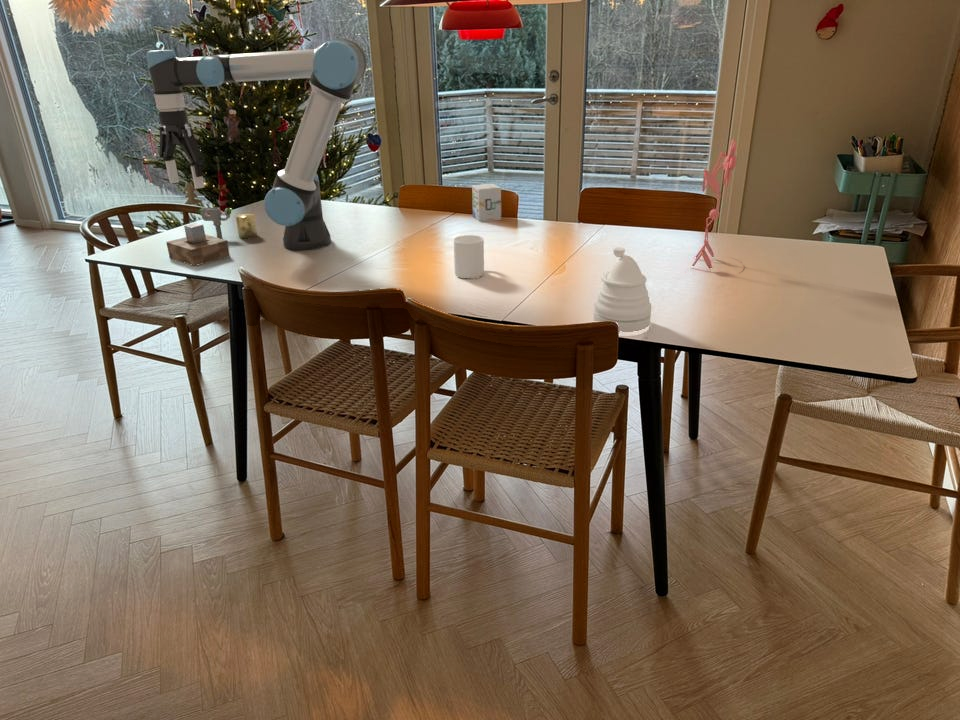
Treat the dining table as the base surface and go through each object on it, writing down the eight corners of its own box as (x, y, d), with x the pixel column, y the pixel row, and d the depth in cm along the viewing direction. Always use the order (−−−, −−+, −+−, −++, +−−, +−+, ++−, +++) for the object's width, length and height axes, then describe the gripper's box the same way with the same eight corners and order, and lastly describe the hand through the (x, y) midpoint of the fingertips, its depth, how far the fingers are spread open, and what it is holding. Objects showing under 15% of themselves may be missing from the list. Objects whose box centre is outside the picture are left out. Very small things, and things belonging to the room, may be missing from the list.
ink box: (472, 216, 256) (471, 184, 250) (494, 214, 258) (494, 182, 253) (479, 222, 248) (478, 189, 243) (501, 219, 250) (501, 187, 245)
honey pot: (583, 327, 161) (587, 252, 153) (609, 311, 170) (615, 239, 162) (633, 341, 153) (640, 262, 146) (659, 323, 163) (666, 248, 155)
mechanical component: (233, 239, 233) (228, 209, 229) (203, 239, 233) (197, 209, 229) (236, 236, 236) (231, 207, 231) (206, 237, 236) (200, 207, 232)
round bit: (261, 235, 236) (257, 215, 233) (245, 239, 232) (242, 219, 229) (250, 233, 240) (247, 212, 237) (235, 236, 236) (231, 216, 232)
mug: (470, 265, 204) (469, 230, 200) (495, 268, 200) (494, 233, 196) (449, 277, 194) (448, 241, 190) (475, 281, 191) (474, 244, 186)
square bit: (209, 256, 216) (203, 224, 211) (197, 259, 213) (191, 227, 208) (202, 254, 218) (196, 222, 213) (190, 257, 215) (184, 225, 211)
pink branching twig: (683, 276, 191) (702, 145, 176) (694, 251, 213) (712, 131, 197) (742, 284, 186) (767, 149, 171) (747, 257, 208) (770, 135, 192)
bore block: (229, 256, 215) (226, 240, 213) (194, 266, 207) (191, 249, 205) (204, 248, 223) (201, 233, 221) (169, 257, 215) (166, 241, 213)
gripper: (208, 110, 193) (222, 187, 202) (161, 106, 207) (176, 178, 216) (183, 113, 187) (199, 192, 196) (136, 108, 201) (153, 182, 211)
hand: (187, 185), depth 206 cm, fingers open, 13 cm apart
